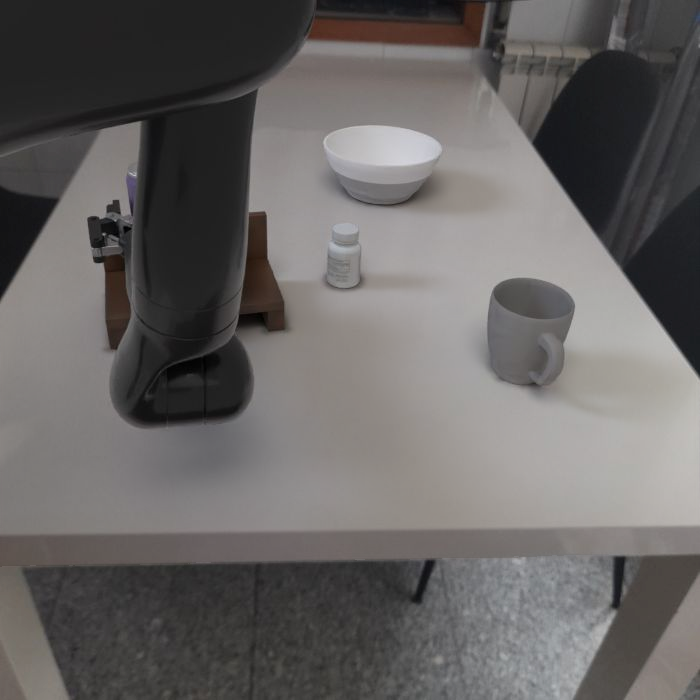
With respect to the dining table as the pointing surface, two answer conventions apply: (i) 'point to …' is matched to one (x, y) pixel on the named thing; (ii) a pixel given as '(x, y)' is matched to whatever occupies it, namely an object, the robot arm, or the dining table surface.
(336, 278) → the pill bottle
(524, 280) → the mug
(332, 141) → the bowl
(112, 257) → the wooden stand
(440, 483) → the dining table surface
